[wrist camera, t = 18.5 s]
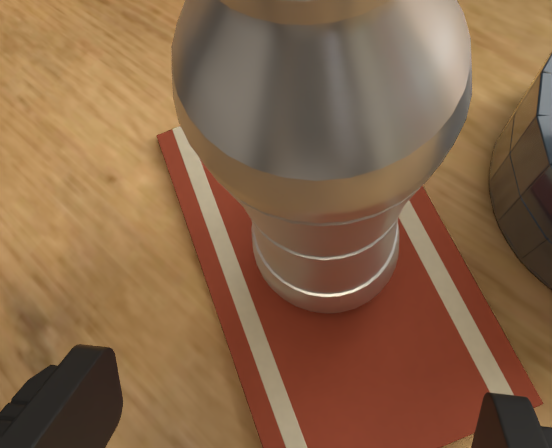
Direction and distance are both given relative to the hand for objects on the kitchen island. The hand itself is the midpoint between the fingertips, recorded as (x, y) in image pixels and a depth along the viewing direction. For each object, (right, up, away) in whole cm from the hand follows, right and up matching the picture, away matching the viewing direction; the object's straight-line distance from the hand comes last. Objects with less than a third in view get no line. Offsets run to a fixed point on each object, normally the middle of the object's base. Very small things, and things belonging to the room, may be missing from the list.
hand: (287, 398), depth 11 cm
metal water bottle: (+2, +2, +14) cm, 14 cm away
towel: (+2, +2, +14) cm, 14 cm away
